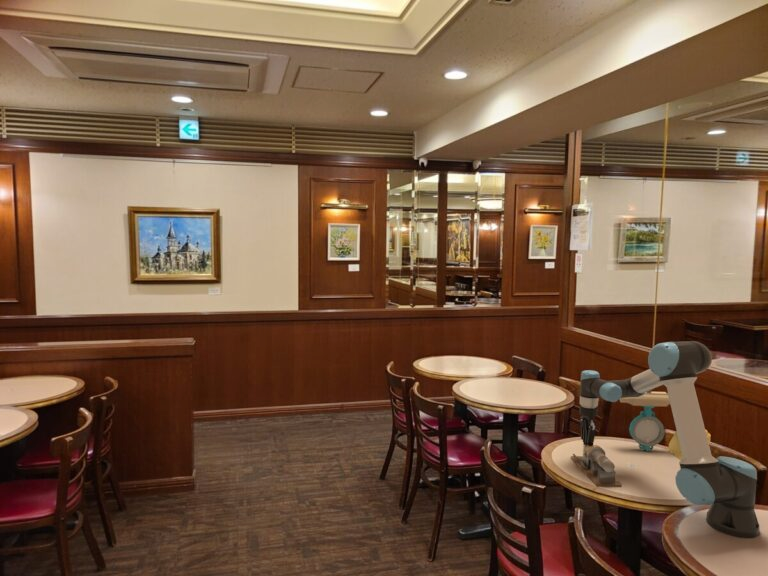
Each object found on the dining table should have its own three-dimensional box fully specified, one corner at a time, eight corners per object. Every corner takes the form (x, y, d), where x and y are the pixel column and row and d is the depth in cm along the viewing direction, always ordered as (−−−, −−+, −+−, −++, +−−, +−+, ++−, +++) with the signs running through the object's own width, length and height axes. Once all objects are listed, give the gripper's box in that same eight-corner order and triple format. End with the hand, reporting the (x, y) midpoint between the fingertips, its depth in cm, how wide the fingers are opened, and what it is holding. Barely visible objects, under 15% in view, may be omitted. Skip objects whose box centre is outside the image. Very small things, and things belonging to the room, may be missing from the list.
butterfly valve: (671, 448, 249) (674, 387, 246) (677, 454, 242) (681, 391, 239) (613, 445, 251) (616, 385, 249) (618, 451, 244) (621, 389, 242)
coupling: (603, 469, 221) (604, 446, 220) (586, 469, 221) (587, 445, 220) (597, 463, 227) (598, 440, 226) (581, 463, 227) (582, 440, 226)
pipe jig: (621, 487, 207) (623, 459, 206) (596, 487, 207) (598, 459, 206) (591, 458, 236) (593, 433, 235) (570, 457, 236) (571, 433, 235)
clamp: (713, 469, 226) (715, 433, 225) (691, 468, 226) (693, 432, 225) (688, 451, 246) (690, 418, 245) (668, 450, 246) (670, 417, 245)
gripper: (603, 410, 222) (601, 464, 224) (591, 401, 235) (588, 452, 237) (586, 410, 222) (583, 463, 224) (574, 401, 235) (572, 452, 237)
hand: (586, 457), depth 230 cm, fingers closed
